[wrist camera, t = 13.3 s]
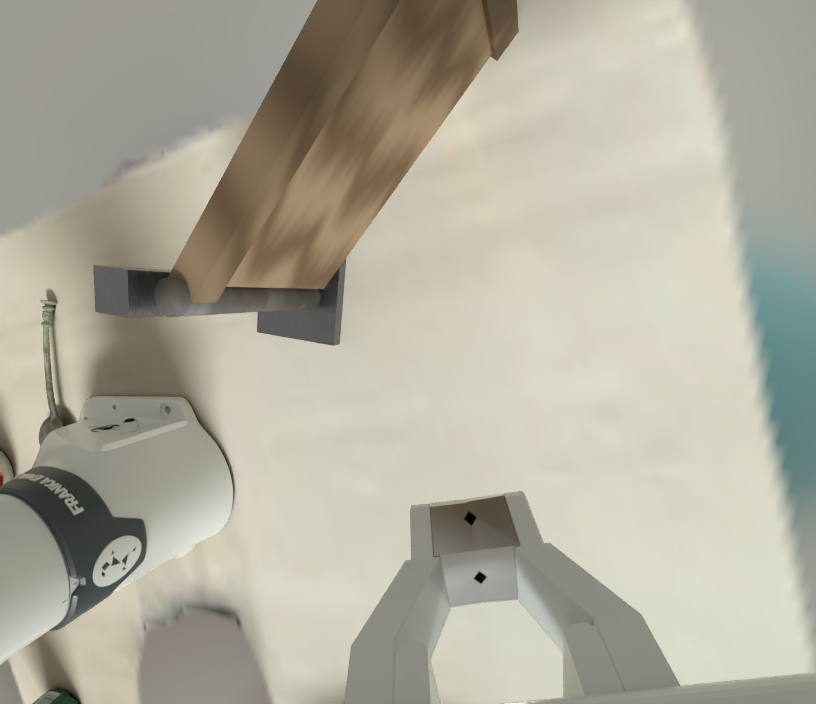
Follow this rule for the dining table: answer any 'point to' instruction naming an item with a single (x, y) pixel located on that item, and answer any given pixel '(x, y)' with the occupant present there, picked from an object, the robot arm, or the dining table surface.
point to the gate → (330, 148)
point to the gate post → (321, 324)
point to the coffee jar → (55, 698)
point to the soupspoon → (48, 374)
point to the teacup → (6, 468)
